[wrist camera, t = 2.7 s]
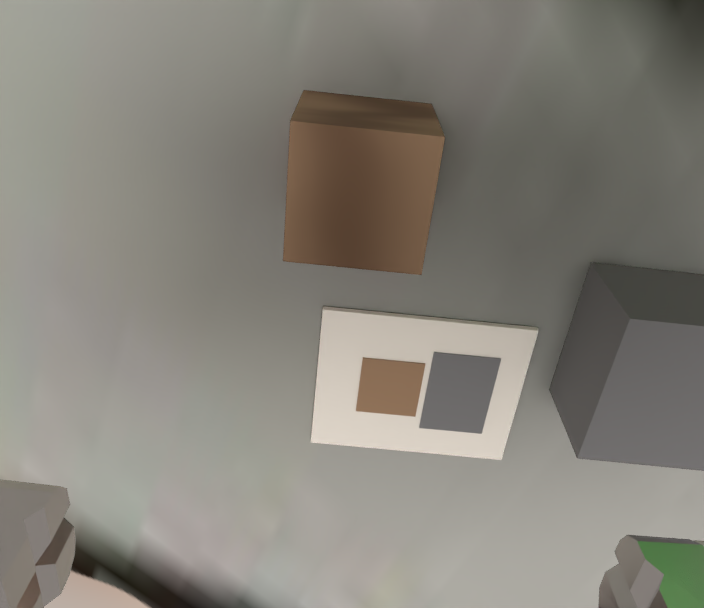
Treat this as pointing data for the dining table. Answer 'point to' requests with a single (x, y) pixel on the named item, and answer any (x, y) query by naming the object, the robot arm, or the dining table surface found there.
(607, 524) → the dining table surface
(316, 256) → the walnut cube
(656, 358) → the charcoal base block
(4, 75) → the dining table surface
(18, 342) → the dining table surface
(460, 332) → the card
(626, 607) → the robot arm
